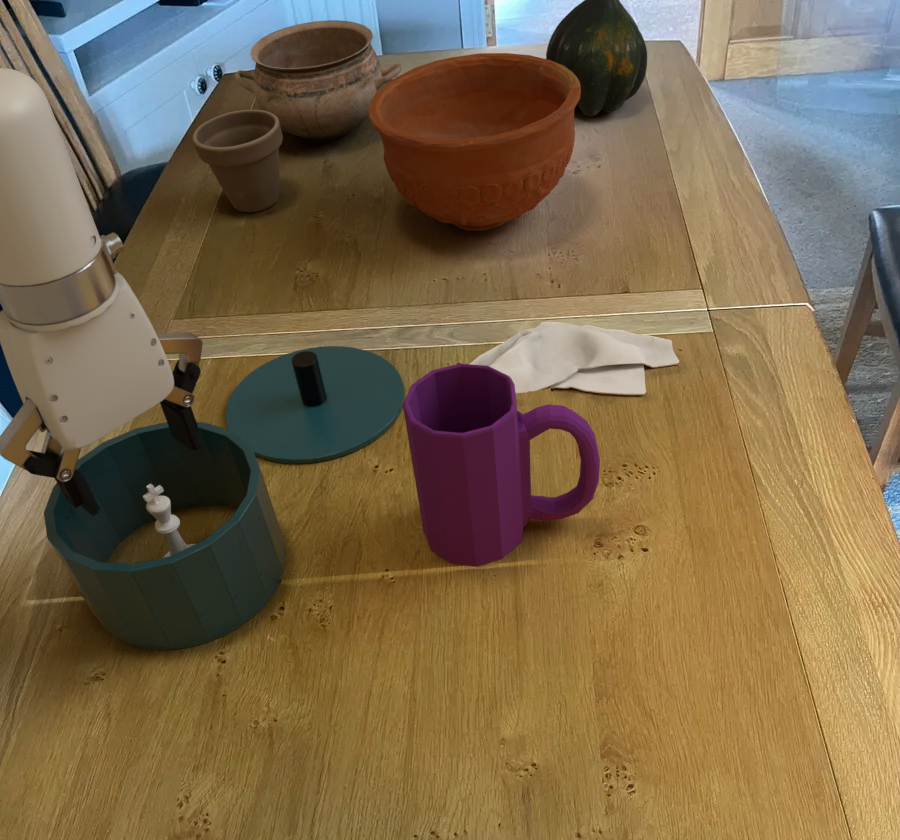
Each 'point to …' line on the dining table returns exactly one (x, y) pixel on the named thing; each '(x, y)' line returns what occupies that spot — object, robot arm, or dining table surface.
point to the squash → (600, 53)
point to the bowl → (477, 135)
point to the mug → (485, 462)
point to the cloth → (579, 358)
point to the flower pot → (243, 156)
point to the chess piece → (164, 519)
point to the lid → (315, 404)
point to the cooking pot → (317, 77)
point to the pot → (187, 572)
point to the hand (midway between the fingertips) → (138, 473)
